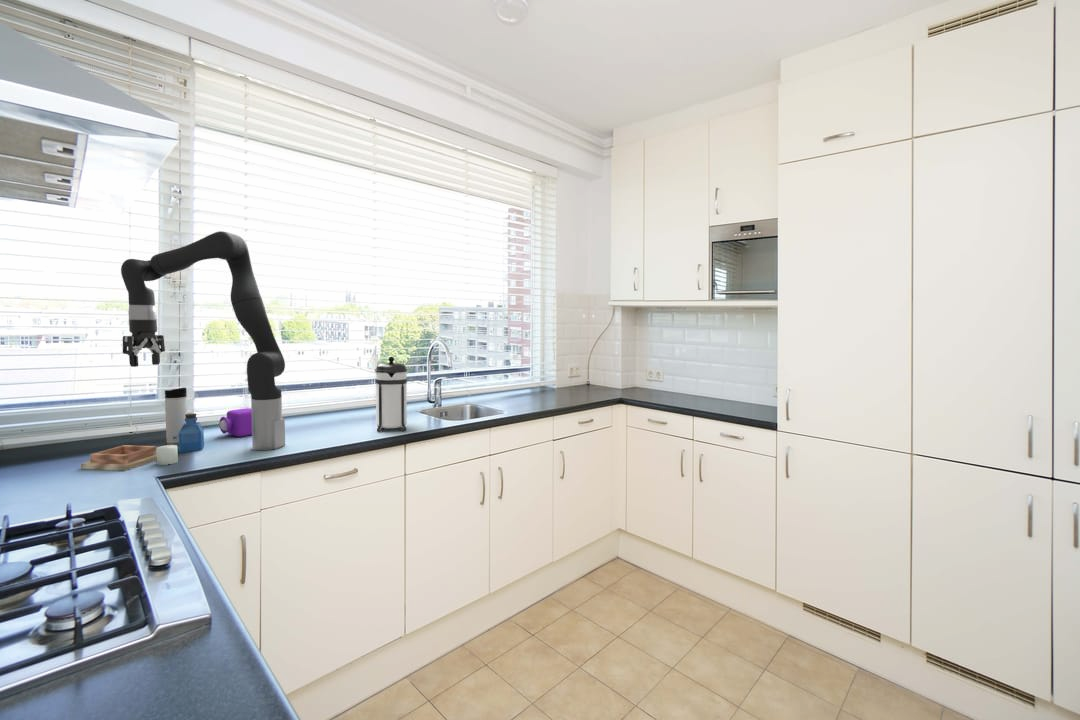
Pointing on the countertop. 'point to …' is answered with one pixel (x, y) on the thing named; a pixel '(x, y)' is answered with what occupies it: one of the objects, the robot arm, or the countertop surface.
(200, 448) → the perfume bottle
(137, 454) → the socket stand
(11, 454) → the countertop surface
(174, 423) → the travel mug
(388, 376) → the coffee press
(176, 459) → the white cube
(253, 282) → the robot arm
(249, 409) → the toy camera
